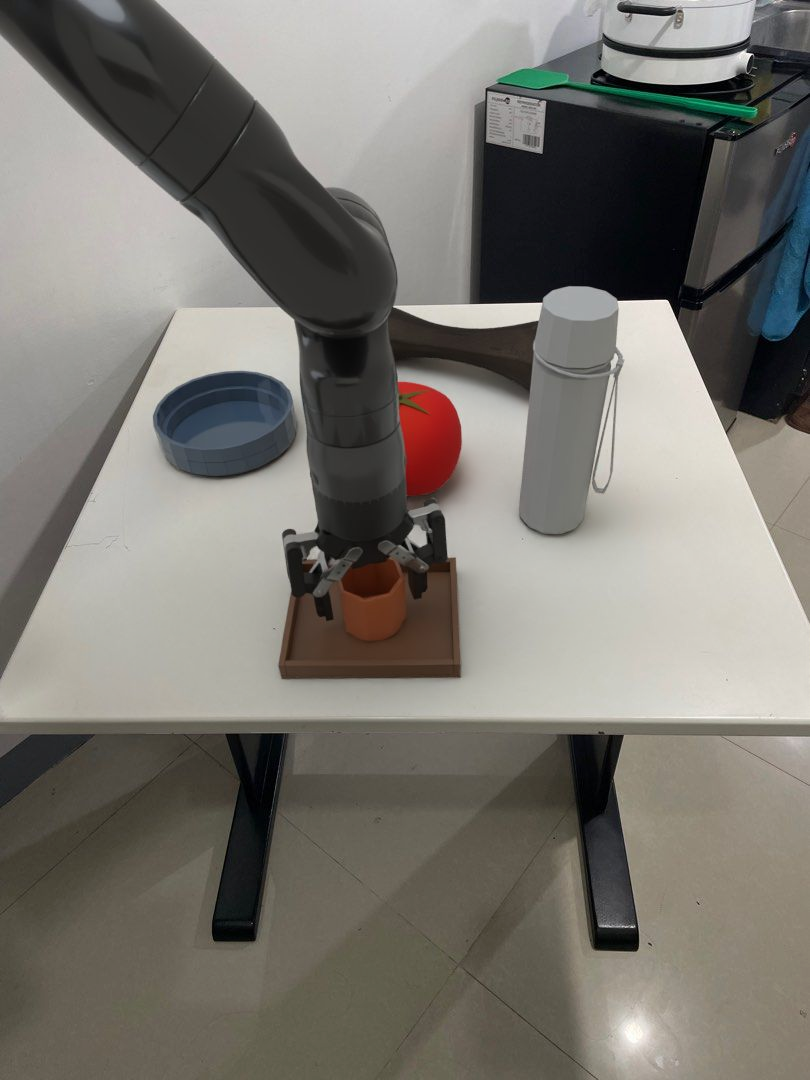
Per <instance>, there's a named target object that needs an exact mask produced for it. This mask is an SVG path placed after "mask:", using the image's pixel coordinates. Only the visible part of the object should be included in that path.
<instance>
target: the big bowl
mask: <svg viewBox="0 0 810 1080" xmlns="http://www.w3.org/2000/svg"><path fill="white" fill-rule="evenodd" d="M152 422H153V423H152V424H153V425H152V427H153V429H154V432H155V435H156V438H157V441H158V443H159V447H160V450H161V452H162V454H163V455H164V457H165V458H166V460H167V462H169V463H170V464H171V465H173V466H174V467H175V468H177V469H179V470H181V471H185V472H187V473H189V474H195V475H202V476H209V477H225V476H232V475H239V474H244V473H247V472H250V471H253V470H256V469H258V468H260V467H263V466H264V465H267V464H268V463H270V462H271V461H273V460H274V459H277V458H278V457H279V456H280V455H282V453H284V452H285V451H286V450H287V449H288V448H289V447H290V446H291V444H292V442H293V440H294V439H295V437H296V435H297V429H298V423H297V422H298V421H297V417H296V410H295V405H294V399H293V396H292V393H291V390H290V389H289V388H288V387H287V385H285V383H284V382H283V381H281V380H279V379H277V378H276V377H274V376H272V375H268V374H266V373H262V372H258V371H249V370H228V371H227V370H226V371H219V372H214V373H209V374H205V375H202V376H199V377H198V376H197V377H196V378H193V379H190V380H188V381H186V382H184V383H181V384H179V385H178V386H176V387H175V388H173V389H171V390H170V391H169V392H168V393H166V394H165V395H164V396H163V397H162V398H161V400H160V401H159V402H158V403H157V405H156V406H155V408H154V411H153V414H152Z"/></svg>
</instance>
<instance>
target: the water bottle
mask: <svg viewBox="0 0 810 1080" xmlns="http://www.w3.org/2000/svg"><path fill="white" fill-rule="evenodd" d="M619 310H620V308H619V303H618V298H616V297H615V296H613V295H612V294H611V293H609V292H608V291H606V290H603V289H598V288H595V287H591V286H579V285H578V286H575V285H573V286H572V285H568V286H565V287H560V288H557V289H553V290H551V291H550V292H548V293H547V294H546V295H545V296H544V297H543V298H542V303H541V308H540V313H539V318H538V321H539V322H538V327H537V332H536V337H535V340H534V343H533V350H534V357H533V367H532V378H531V388H530V391H529V399H528V400H529V401H528V410H527V420H526V431H525V440H524V451H523V461H522V471H521V483H520V493H519V502H518V516H519V517H520V518H521V519H522V521H523V522H524V523H525V524H526V525H527V526H528V528H531V529H533V530H535V531H537V532H539V533H541V534H543V535H562V534H565V533H567V532H570V531H574V530H575V529H576V528H577V527H578V526H579V525H580V524H581V522H582V521H583V520H584V518H585V513H586V507H587V502H588V497H589V490H590V485H592V488H593V491H594V493H597V494H602V495H604V494H605V493H606V491H607V489H608V488H609V484H610V482H611V478H612V474H613V472H614V456H615V440H616V422H617V421H616V420H617V402H618V386H619V385H618V384H619V376H620V374H621V371H622V368H623V366H624V363H625V359H624V358H623V354H622V352H620V349H619V348H618V347H617V339H618V338H617V337H618V322H619V312H620V311H619ZM615 355H616V356H617V361H616V364H615V367H614V368H612V361H613V360H614V359H615ZM611 375H613V378H614V380H613V383H612V390H611V393H610V398H609V402H608V406H607V410H606V415H605V418H604V425H603V428H602V431H601V436H600V441H599V435H600V429H601V425H602V419H603V414H604V408H605V402H606V397H607V392H608V386H609V382H610V381H609V380H610V377H611ZM613 395H614V402H613V403H614V405H613V407H614V408H613V421H612V437H611V451H610V467H609V468H610V469H609V476H608V480H607V482H606V484H605V486H604V487H603V488H602V487H598V486H597V482H596V479H595V478H596V473H597V469H598V464H599V459H600V454H601V450H602V446H603V441H604V437H605V433H606V428H607V423H608V418H609V413H610V409H611V404H612V401H613V400H612V399H613ZM598 441H599V446H598ZM597 447H598V450H597ZM596 452H597V453H596Z"/></svg>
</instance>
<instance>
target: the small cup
mask: <svg viewBox="0 0 810 1080" xmlns="http://www.w3.org/2000/svg"><path fill="white" fill-rule="evenodd" d="M336 584H337V590H338V597H339V603H340V610H341V615H342V618H343V622H344V625H345V628H346V631H347V632H348V633H350V634H351V635H353V636H354V637H356V638H358V639H361V640H364V641H380V640H384V639H387V638H389V637H391V636H392V635H394V634H395V633H396V632H397V631H398V630H399V629H400V627H401V626H402V624H403V621H404V620H405V618H406V598H405V580H404V575H403V572H402V570H401V567H400V565H399V562H397V561H396V560H395V559H393V558H392V557H390V558H388V559H387V562H383V563H377V564H368V565H366V566H363V567H361V568H357V569H352V567H350V568H349V569H348V570H347V572H346V573H345V574H344V576H343V577H342V578H341V580H340V581H339V582H336Z"/></svg>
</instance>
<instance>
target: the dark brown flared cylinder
mask: <svg viewBox="0 0 810 1080" xmlns="http://www.w3.org/2000/svg"><path fill="white" fill-rule="evenodd" d="M538 322H539V320H533V321H529V322H523V323H518V324H512V325H504V326H497V327H485V328H481V327H480V328H479V327H478V328H477V327H476V328H473V327H471V328H470V327H459V326H450V325H446V324H440V323H436V322H432V321H429V320H426V319H424V318H420V317H418V316H416V315H414V314H411V313H410V312H407V311H405V310H403V309H400V308H397V307H395V306H393V308H392V310H391V312H390V314H389V316H388V333H389V340H390V345H391V348H392V352H393V356H394V360H395V361H396V360H406V359H434V360H443V361H451V362H457V363H461V364H465V365H469V366H473V367H476V368H480V369H483V370H485V371H489V372H491V373H494V374H496V375H499V376H501V377H503V378H506V379H508V380H509V381H511V382H513V383H516V384H517V385H519V386H521V387H523V388H525V389H526V390H528V391H529V392H530V388H531V378H532V367H533V357H534V350H533V343H534V340H535V337H536V332H537V327H538Z"/></svg>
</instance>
